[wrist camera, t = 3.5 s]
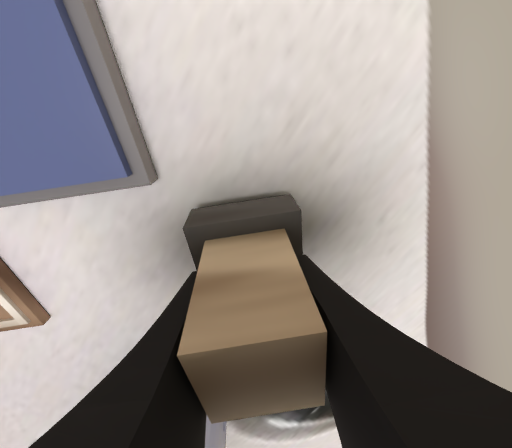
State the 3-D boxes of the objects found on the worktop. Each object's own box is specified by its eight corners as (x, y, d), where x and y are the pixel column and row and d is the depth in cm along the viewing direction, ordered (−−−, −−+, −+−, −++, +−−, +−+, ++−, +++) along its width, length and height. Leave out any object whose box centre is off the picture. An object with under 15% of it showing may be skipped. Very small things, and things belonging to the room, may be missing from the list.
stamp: (295, 271, 13) (347, 412, 7) (213, 284, 13) (193, 437, 7) (290, 194, 11) (362, 303, 5) (191, 209, 11) (131, 340, 5)
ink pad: (157, 178, 11) (146, 188, 9) (-2, 202, 11) (-36, 215, 9) (74, -60, 7) (36, -99, 6) (-173, -25, 7) (-269, -57, 6)
